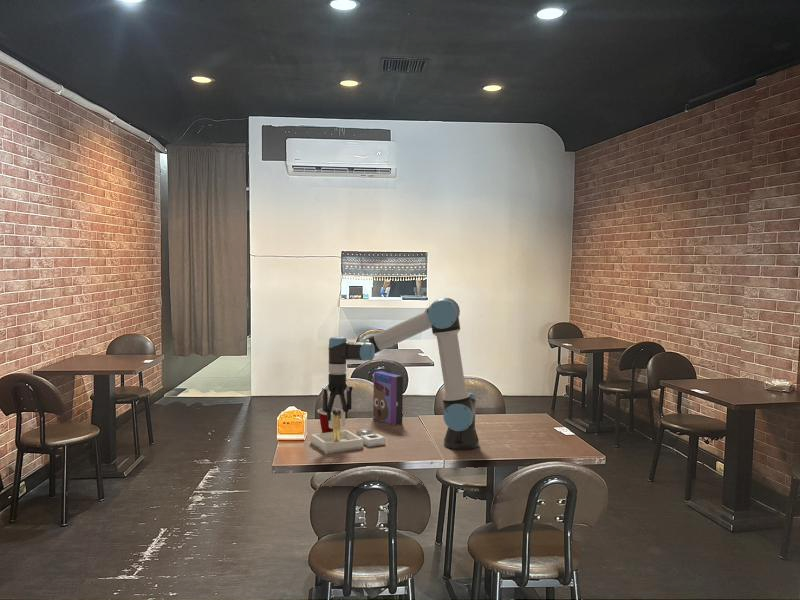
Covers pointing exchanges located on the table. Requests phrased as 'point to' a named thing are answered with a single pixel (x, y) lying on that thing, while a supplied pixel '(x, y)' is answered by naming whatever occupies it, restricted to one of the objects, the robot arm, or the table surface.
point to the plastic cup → (325, 420)
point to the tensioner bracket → (370, 437)
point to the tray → (346, 442)
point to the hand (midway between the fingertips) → (337, 426)
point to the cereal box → (388, 397)
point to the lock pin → (336, 425)
